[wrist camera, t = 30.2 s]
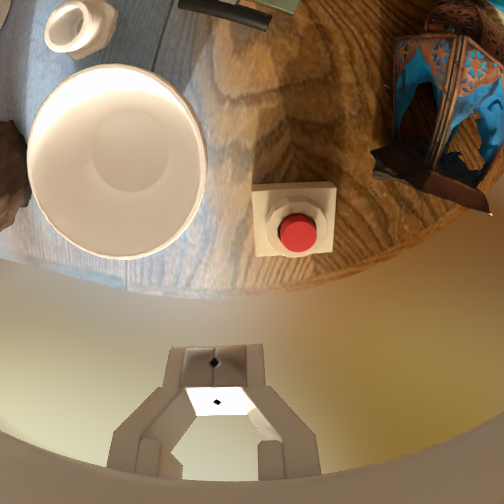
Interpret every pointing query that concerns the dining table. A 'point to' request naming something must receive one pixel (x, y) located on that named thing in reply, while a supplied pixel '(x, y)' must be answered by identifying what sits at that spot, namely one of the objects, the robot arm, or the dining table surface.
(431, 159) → the lantern
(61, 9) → the pipe fitting
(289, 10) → the bracket
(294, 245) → the button
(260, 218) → the control block
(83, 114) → the bowl
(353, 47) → the dining table surface
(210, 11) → the lever
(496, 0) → the decorative orb
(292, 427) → the robot arm
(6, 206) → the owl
